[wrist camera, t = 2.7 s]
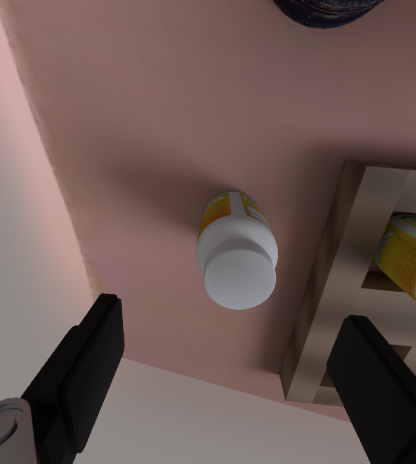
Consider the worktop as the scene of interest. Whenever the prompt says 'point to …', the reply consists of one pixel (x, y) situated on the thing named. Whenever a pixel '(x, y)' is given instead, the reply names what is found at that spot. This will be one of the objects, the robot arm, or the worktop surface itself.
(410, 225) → the supplement bottle
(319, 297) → the bottle rack
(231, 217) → the supplement bottle
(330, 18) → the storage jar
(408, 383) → the robot arm
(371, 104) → the worktop surface
